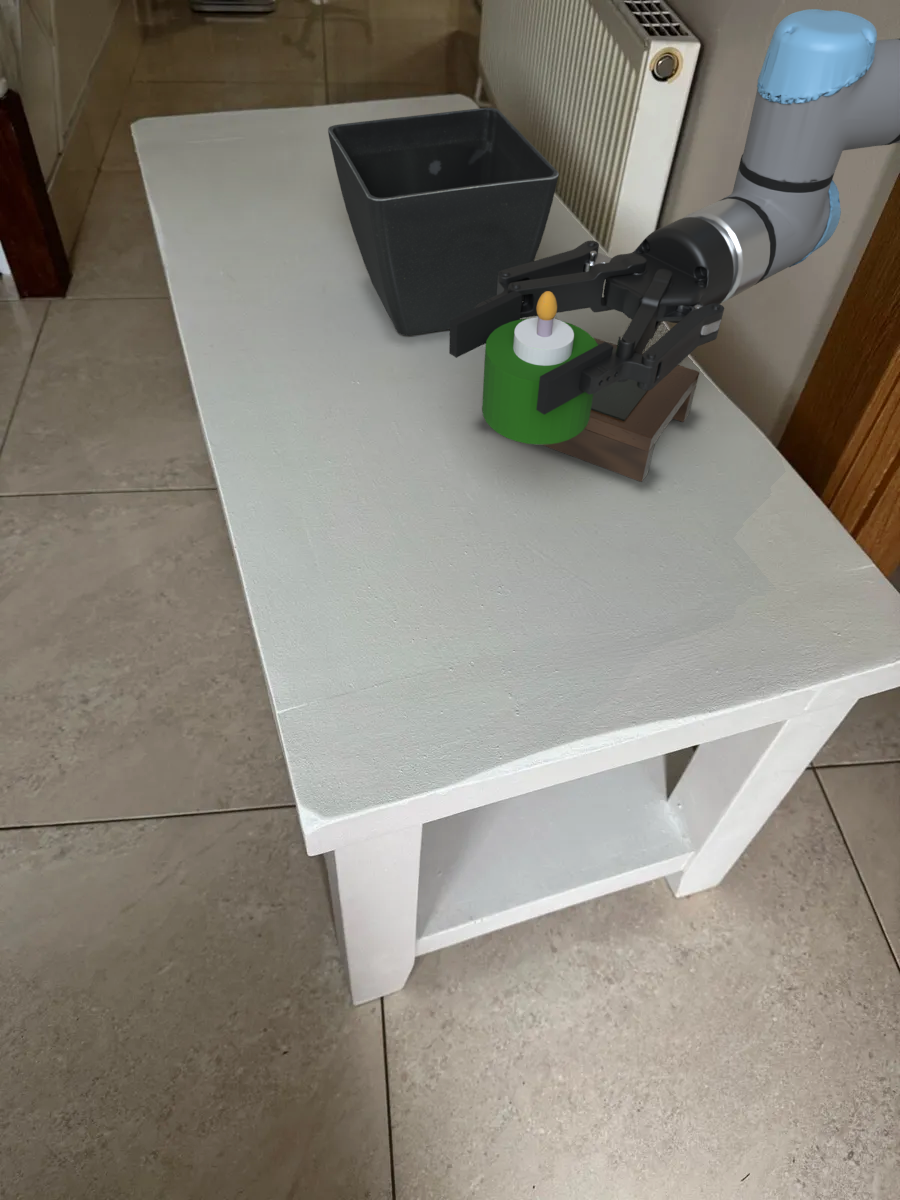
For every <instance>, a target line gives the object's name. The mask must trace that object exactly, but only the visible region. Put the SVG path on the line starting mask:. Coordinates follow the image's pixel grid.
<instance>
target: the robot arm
mask: <svg viewBox="0 0 900 1200" xmlns="http://www.w3.org/2000/svg"><path fill="white" fill-rule="evenodd" d="M767 47H768V48H767V50H766V52H765V53H766V54H765V57H764V60H763V64H762V66H761V70H760V72H759V75H758V78H757V85H756V93H755V98H754V102H753V108H752V113H751V116H750V121H749V125H748V126H749V127H748V130H747V134H746V140H745V144H744V148H743V152H742V155H741V156H740V161H739V165H738V167H737V168H738V169H737V172H736V175H735V180H734V184H733V188H732V192H731V193H730V194H729V195H727V196H724V197H723V198H721V199H719V200H718V201H715V202H713V203H710V204H708V205H706V206H704V207H701V208H699V209H697V210H695V211H692V212H690V213H688V214H686V215H685V216H683V217H682V218H680V219H677V220H675V221H674V222H671V223H669V224H667V225H666V224H665V226H662V227H660V228H658V229H656V230H654V231H652V232H651V233H649V234H648V235H647V236H646V237H645V238H644V239H643V240H642V241H641V243H640V244H639V245H638V246H637V247H636V248H635V249H634V250H633V251H632V252H628V253H622V254H621V253H620V254H617V255H614V256H613V257H610V256H608V255H605V254H602V253H600V252H599V249H600V243H599V242H598V241H596V240H586V241H584V242H583V243H581V244H580V245H578V246H577V247H575V248H574V249H571V250H567V251H564V252H560V253H556V254H553V255H550V256H547V257H543V258H539V259H536V260H534V261H532V262H529V263H526V264H522V265H519V266H515V267H512V268H508V269H505V270H502V271H499V273H498V284H497V295H496V296H494V297H492V298H489V299H487V300H485V301H483V302H481V303H479V304H478V305H477V306H476V307H475V309H474V310H472V311H469V312H467V313H465V314H463V315H461V316H459V317H457V318H454V319H452V320H450V329H449V352H448V353H449V355H450V356H453V357H454V358H459V357H461V356H463V355H465V354H467V353H469V352H471V351H473V350H475V349H477V348H479V347H481V346H484V345H486V341H487V339H488V337H489V335H490V334H491V333H492V332H493V331H494V330H495V329H497V328H499V327H500V326H502V325H504V324H506V323H509V322H512V321H516V320H520V319H527V318H533V317H538V315H537V310H536V308H537V303H538V300H539V298H540V296H541V295H542V294H543V293H544V292H546V291H550V292H552V293H553V294H554V296H555V298H556V302H557V312H556V314H557V313H564V312H570V311H578V310H584V309H590V310H591V311H592V312H593V313H601V312H607V311H616V312H619V313H623V314H624V316H625V317H627V318H628V319H630V320H631V321H630V323H629V325H628V327H626V330H625V331H624V333H623V335H622V337H621V336H618V339H617V344H616V345H617V350H616V352H615V353H613V354H612V351H613V346H612V345H610V344H609V343H610V342H609V343H607V342H608V341H606V342H604V343H602V344H600V345H598V346H596V347H594V348H592V349H590V350H589V351H587V352H585V353H583V354H581V355H579V356H577V357H575V358H574V359H572V360H570V361H568V362H566V363H564V364H562V365H560V366H559V367H557V368H555V369H553V370H551V371H549V372H547V373H546V374H544V375H542V376H540V381H539V390H538V399H537V409H536V410H537V411H539V412H541V413H542V414H544V415H545V414H547V413H548V412H550V411H552V410H554V409H556V408H557V407H559V406H561V405H563V404H564V403H566V402H568V401H570V400H572V399H573V398H575V397H577V396H579V395H580V394H582V393H584V392H586V393H587V394H589V395H590V394H594V393H597V392H599V391H601V390H603V389H604V388H606V387H608V386H610V385H611V384H613V383H615V382H625V381H627V380H628V379H630V380H633V381H637V386H638V388H640V389H642V390H651V389H653V388H654V387H655V386H656V385H657V384H658V383H659V382H660V381H661V380H662V379H663V378H664V377H666V376H667V375H668V374H669V373H670V372H671V371H672V370H673V369H674V368H675V367H676V366H677V365H680V364H681V363H682V362H683V361H684V360H685V359H686V358H687V357H688V356H689V355H691V353H692V352H694V351H695V350H696V349H697V348H698V347H700V346H702V345H705V344H707V343H710V342H713V341H715V340H717V337H718V334H719V331H720V327H721V323H722V320H723V315H724V311H725V307H724V305H723V303H725V302H726V301H728V300H730V299H733V298H734V297H736V296H738V295H740V294H741V293H743V292H745V291H747V290H749V289H750V288H752V287H753V286H757V285H758V284H759V283H761V282H762V281H764V280H766V279H768V278H771V277H772V276H774V275H776V274H778V273H781V272H783V271H784V270H786V269H788V268H791V267H793V266H796V265H799V264H800V263H802V262H804V261H806V259H807V258H808V257H809V256H810V255H812V254H813V253H815V251H817V250H818V249H820V248H822V247H823V246H824V245H825V244H826V243H827V242H828V241H829V240H830V239H831V238H832V237H833V235H834V233H835V232H836V229H837V228H838V226H839V222H840V219H841V214H842V210H841V201H840V191H839V189H838V186H837V184H836V183H835V181H834V180H833V179H834V175H835V172H836V170H837V168H838V164H839V162H840V159H841V156H842V153H843V151H850V150H858V149H864V148H865V149H866V148H872V147H879V146H881V147H882V146H890V145H893V144H900V38H889V39H878V31H877V29H876V26H875V25H874V24H873V23H872V22H871V21H869V20H868V19H866V18H864V17H863V16H861V15H858V14H854V13H851V12H847V11H842V10H837V9H832V10H831V9H830V10H824V9H819V8H818V9H817V8H813V9H811V8H810V9H803V10H798V11H795V12H792V13H790V14H789V15H787V16H785V17H784V18H783V19H781V21H780V22H779V23H778V24H777V25H776V26H775V29H774V31H773V34H772V37H771V40H770V42H769V45H768V46H767ZM663 322H668V323H671V324H675V325H674V326H672V327H671V328H670V329H668V331H667V332H665V333H664V335H662V336H661V337H659V339H658V340H657V341H655V342H654V343H653V344H652V345H651V346H650V347H648V348H647V346H648V344H649V341H650V340H653V338H654V336H655V334H656V332H657V330H658V329H659V327H660V326H661V325H662V323H663ZM646 348H647V349H646ZM645 349H646V350H645ZM642 353H643V355H642Z"/></svg>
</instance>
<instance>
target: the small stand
mask: <svg viewBox="0 0 900 1200" xmlns="http://www.w3.org/2000/svg"><path fill="white" fill-rule="evenodd" d="M593 338H594V340H595V341H596V343H597V344H598V345H600V344H602V343H604V342H607V343H609V344H610V345H612V346H613V351H612V354H613V353H615V352H616V350H617V344H616V343H615V344H614V343H611V342H608V341H605V340H602V339H599V338H596V337H593ZM643 353H644V352H643ZM643 353H642V355H643ZM699 375H700V371H698V370H696V369H693V368H689V367H687V366H683V365H680V364H678V365H677V366H676V367H675V368H674V369H673V370H672V371H671V372H670V373H669V374H668V375H667V376H666V377H664V378H663V379H662V380H661V381H660V382H659V383H658V384H657V385H656V386H655V387H654V388H653V389H651V390H642V389H640V388H638V386H637V381H633V380H630V379H628V380H627V381H625V382H615V383H613V384H611V385H610V386H608V387H606V388H604V389H603V390H601V391H599V392H597V393H594V394H593V400H592V406H591V412H590V418H589V421H588V424H587V426H586V427H585V428H584V430H583V431H582V432H580V433H579V434H578V435H577V436H575V437H573V438H571V439H569V440H566V441H563V442H560V443H554V444H544V445H542V446H544V447H546V448H549V449H551V450H553V451H554V450H555V451H557V452H560V453H562V454H565V455H568V456H571V457H573V458H576V459H578V460H581V461H584V462H586V463H589V464H592V465H595V466H597V467H600V468H603V469H605V470H608V471H611V472H614V473H616V474H618V475H622V476H623V477H624V476H625V477H627V478H630V479H632V480H635V481H636V482H637V481H638V482H641V483H643V482H644V480H645V478H646V477H647V476H648V474H649V470H650V466H651V461H652V457H653V453H654V448H655V443H656V442H657V440H658V439H659V438H660V436H661V435H662V434H663V432H664V431H665V429H666V428H667V426H668V425H669V424H670V423H671V421H672V420H676V421H679V422H681V423H684V422H685V421H686V419H687V418H688V416H689V415H690V412H691V408H692V403H693V399H694V396H695V392H696V388H697V384H698V380H699Z"/></svg>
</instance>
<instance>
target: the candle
mask: <svg viewBox="0 0 900 1200" xmlns="http://www.w3.org/2000/svg"><path fill="white" fill-rule="evenodd" d="M536 310H537V315H538V316H534V317H526V318H520V320H516V321H512V322H509V323H506V324H504V325H502V326H500V327H499V328H497V329H495V330H494V331H493V332H492V333H491V334H490V335H489V337H488V339H487V341H486V343H485V347H484V348H485V349H484V365H483V367H484V368H483V384H482V385H483V386H482V401H481V402H482V404H481V411H482V416H483V419H484V420H485V423H486V424H487V425H488V426H489V427H490V428H491V429H493V431H495V432H496V433H497V434H498V435H500V436H502V437H504V438H506V439H509V440H511V441H514V442H517V443H522V444H526V445H537V446H538V445H539V446H543V445H544V444H554V443H560V442H563V441H566V440H569V439H571V438H573V437H575V436H577V435H578V434H579V433H580V432H582V431H583V430H584V428H585V427H586V426H587V424H588V421H589V418H590V412H591V406H592V400H593V394H590V395H589V394H587V393H586V392H584V393H582V394H580V395H579V396H577V397H575V398H573V399H572V400H570V401H568V402H566V403H564V404H563V405H561V406H559V407H557V408H556V409H554V410H552V411H550V412H548V413H547V414H545V415H544V414H542V413H541V412H539V411H537V410H536V409H537V399H538V390H539V381H540V376H542V375H544V374H546V373H547V372H549V371H551V370H553V369H555V368H557V367H559V366H560V365H562V364H564V363H566V362H568V361H570V360H572V359H574V358H575V357H577V356H579V355H581V354H583V353H585V352H587V351H589V350H590V349H592V348H594V347H596V346H598V344H597V343H596V341H595V340H594V338H595V337H593V336H592V335H591V334H590V333H589V332H587V331H586V330H584V329H583V328H581V327H579V326H576V325H574V324H572V323H569V322H566V321H563V320H560V319H557V318H555V317H556V315H557V313H556V312H557V302H556V298H555V296H554V294H553V293H552V292H550V291H546V292H544V293H543V294H542V295H541V296H540V298H539V300H538V303H537V308H536Z"/></svg>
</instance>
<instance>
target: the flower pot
mask: <svg viewBox="0 0 900 1200" xmlns="http://www.w3.org/2000/svg"><path fill="white" fill-rule="evenodd" d="M327 133H328V138H329V144H330V149H331V153H332V158H333V163H334V167H335V172H336V175H337V180H338V184H339V187H340V191H341V195H342V198H343V202H344V206H345V209H346V213H347V217H348V220H349V223H350V226H351V229H352V232H353V235H354V238H355V241H356V244H357V247H358V250H359V253H360V256H361V258H362V261H363V264H364V267H365V269H366V271H367V274H368V276H369V279H370V281H371V283H372V286H373V289H374V290H375V292H376V293H377V295H378V298H379V299H380V301H381V303H382V306H383V307H384V309H385V311H386V314H387V315H388V317H389V319H390V321H391V322H392V324H393V327H394V329H395V331H396V332H397V333H398V334H399V335H402V336H414V335H420V334H426V333H434V332H440V331H447V330H450V320H452V319H454V318H457V317H459V316H461V315H463V314H465V313H467V312H469V311H472V310H474V309H475V307H476V306H477V305H478V304H479V303H481V302H483V301H485V300H487V299H489V298H492V297H494V296H496V295H497V284H498V273H499V271H502V270H505V269H508V268H512V267H515V266H519V265H522V264H526V263H529V262H532V261H535V259H536V256H537V254H538V251H539V247H540V244H541V243H542V239H543V237H544V233H545V230H546V226H547V222H548V219H549V215H550V213H551V209H552V205H553V202H554V198H555V193H556V189H557V184H558V180H559V175H560V173H559V171H558V170H557V169H556V167H554V166H553V165H552V163H550V161H548V159H547V158H546V157H544V156H543V154H542V153H541V152H540V151H539V150H538V149H537V148H536V146H534V145H533V144H532V143H531V142H530V141H529V140H528V139H527V138H526V136H524V135H523V133H521V131H519V129H517V128H516V126H515V125H514V124H512V122H511V120H509V119H508V118H507V116H506V115H505V114H504V113H502V112H501V110H500V109H498V108H495V107H481V108H480V107H479V108H471V109H459V110H452V111H443V112H436V113H426V114H418V115H417V114H416V115H410V116H399V117H389V118H382V119H372V120H364V121H355V122H350V123H349V122H348V123H347V122H346V123H340V124H339V123H338V124H335V125H330V126H329V127H327Z"/></svg>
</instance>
